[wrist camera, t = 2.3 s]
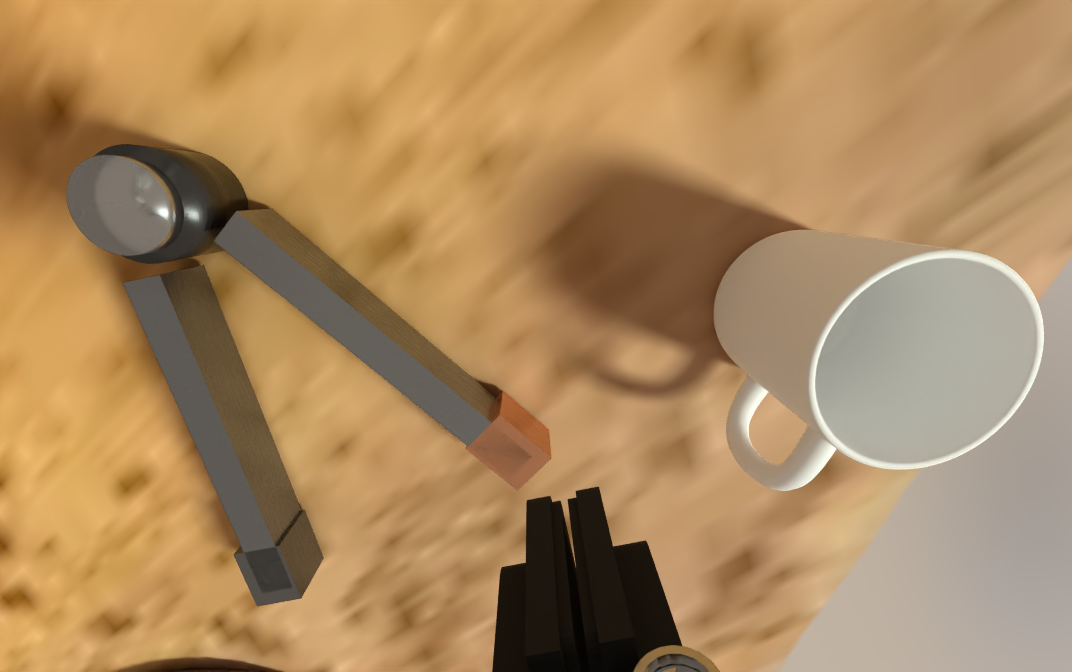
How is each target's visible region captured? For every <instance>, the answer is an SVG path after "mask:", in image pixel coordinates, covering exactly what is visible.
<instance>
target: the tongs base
mask: <svg viewBox="0 0 1072 672" xmlns="http://www.w3.org/2000/svg"><path fill="white" fill-rule="evenodd" d="M99 155H114V156H125V157H134V158H138V159H142V160H144V161H147V162H149V163H151V164H152V165H154V166H156V167H157V168H159V169H160V170H161V171H162V172H163V173H165V174H166V175H167V176H168V178H169V179H170V180H171V181H172V183H173V184H174V185H175V187H176V189H177V191H178V192H179V195H180V197H181V200H182V204H183V209H184V221H183V226H182V229H181V232H180V234H179V236H178V237H177V239H176V240H175V241H174V242H173V243H172V244H171V245H170V246H168V247H167V248H165V249H163V250H160V251H157V252H152V253H146V254H140V255H132V256H124V255H121V256H123V257H125V258H128V259H130V260H133V261H137V262H141V263H149V264H150V263H163V262H168V261H173V260H178V259H183V258H189V257H194V256H199V255H204V254H209V253H214V252H219V251H222V250H224V249H223V248H222V247H220V246H219V245H218V244H217V243H216V242H214V240H215V239H216V237H217V236H218V235H219V233H220V232H221V231H222V229H223V228H224V227H225V225H226V224H227V223H228V221H229V220H230V219H231V218H232V216H233V215H234V214H235V212H236V211H245V210H248V202H247V198H246V194H245V192H244V189H243V187H242V185H241V183H240V182H239V180H238V179H237V177H236V176H235V175H234V173H233V172H232V171H231V170H230V169H229V168H228V167H226V166H225V165H224V164H223V163H221V162H220V161H218V160H217V159H215V158H213V157H211V156H208V155H206V154H202V153H198V152H190V151H181V150H173V149H164V148H156V147H147V146H139V145H130V144H122V145H115V146H111V147H108V148H106V149H104V150H102V151H100V152H99V153H97V154H96V155H95V156H99ZM123 285H124V287H125V289H126V292H127V294H128V296H129V298H130V300H131V303H132V305H133V307H134V309H135V312H136V314H137V316H138V318H139V320H140V323H141V325H142V327H143V329H144V332H145V334H146V336H147V338H148V340H149V343H150V345H151V347H152V349H153V352H154V354H155V356H156V358H157V360H158V363H159V365H160V367H161V369H162V372H163V374H164V376H165V378H166V380H167V383H168V385H169V387H170V389H171V392H172V394H173V396H174V398H175V400H176V403H177V405H178V407H179V409H180V412H181V414H182V416H183V418H184V420H185V423H186V425H187V427H188V429H189V432H190V434H191V436H192V438H193V440H194V443H195V445H196V447H197V449H198V452H199V454H200V456H201V458H202V460H203V463H204V465H205V467H206V469H207V472H208V474H209V476H210V478H211V480H212V483H213V485H214V487H215V489H216V492H217V494H218V496H219V498H220V500H221V503H222V505H223V507H224V509H225V512H226V514H227V516H228V518H229V520H230V523H231V525H232V527H233V529H234V532H235V534H236V536H237V538H238V540H239V543H240V545H241V546H240V547H239V548H238V550H237V551H236V552H235V553H234V557H235V559H236V561H237V563H238V566H239V568H240V570H241V572H242V574H243V576H244V579H245V581H246V583H247V585H248V587H249V590H250V592H251V594H252V596H253V598H254V601H255V603H256V605H257V606H262V605H268V604H273V603H279V602H284V601H290V600H295V599H301V598H302V596H303V594H304V592H305V591H306V589H307V587H308V585H309V583H310V582H311V580H312V578H313V576H314V575H315V573H316V571H317V569H318V567H319V566H320V564H321V562H322V560H323V558H324V557H323V555H322V552H321V550H320V547H319V545H318V542H317V540H316V537H315V535H314V532H313V530H312V527H311V525H310V522H309V520H308V517H307V515H306V512H305V510H301V508H300V506H299V503H298V501H297V498H296V496H295V493H294V490H293V488H292V485H291V483H290V480H289V478H288V475H287V473H286V470H285V468H284V465H283V463H282V460H281V458H280V455H279V453H278V450H277V448H276V445H275V443H274V440H273V438H272V435H271V433H270V430H269V428H268V425H267V423H266V420H265V418H264V415H263V413H262V410H261V408H260V405H259V403H258V400H257V398H256V395H255V393H254V390H253V388H252V385H251V383H250V380H249V378H248V375H247V373H246V370H245V368H244V365H243V363H242V360H241V358H240V355H239V353H238V350H237V348H236V345H235V343H234V340H233V337H232V335H231V332H230V330H229V327H228V325H227V322H226V320H225V317H224V315H223V312H222V310H221V307H220V305H219V302H218V300H217V297H216V295H215V292H214V290H213V287H212V285H211V282H210V280H209V277H208V275H207V272H206V270H205V267H204V265H201V266H197V267H192V268H188V269H183V270H178V271H174V272H169V273H165V274H160V275H156V276H151V277H147V278H143V279H138V280H134V281H129V282H125V283H123Z"/></svg>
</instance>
